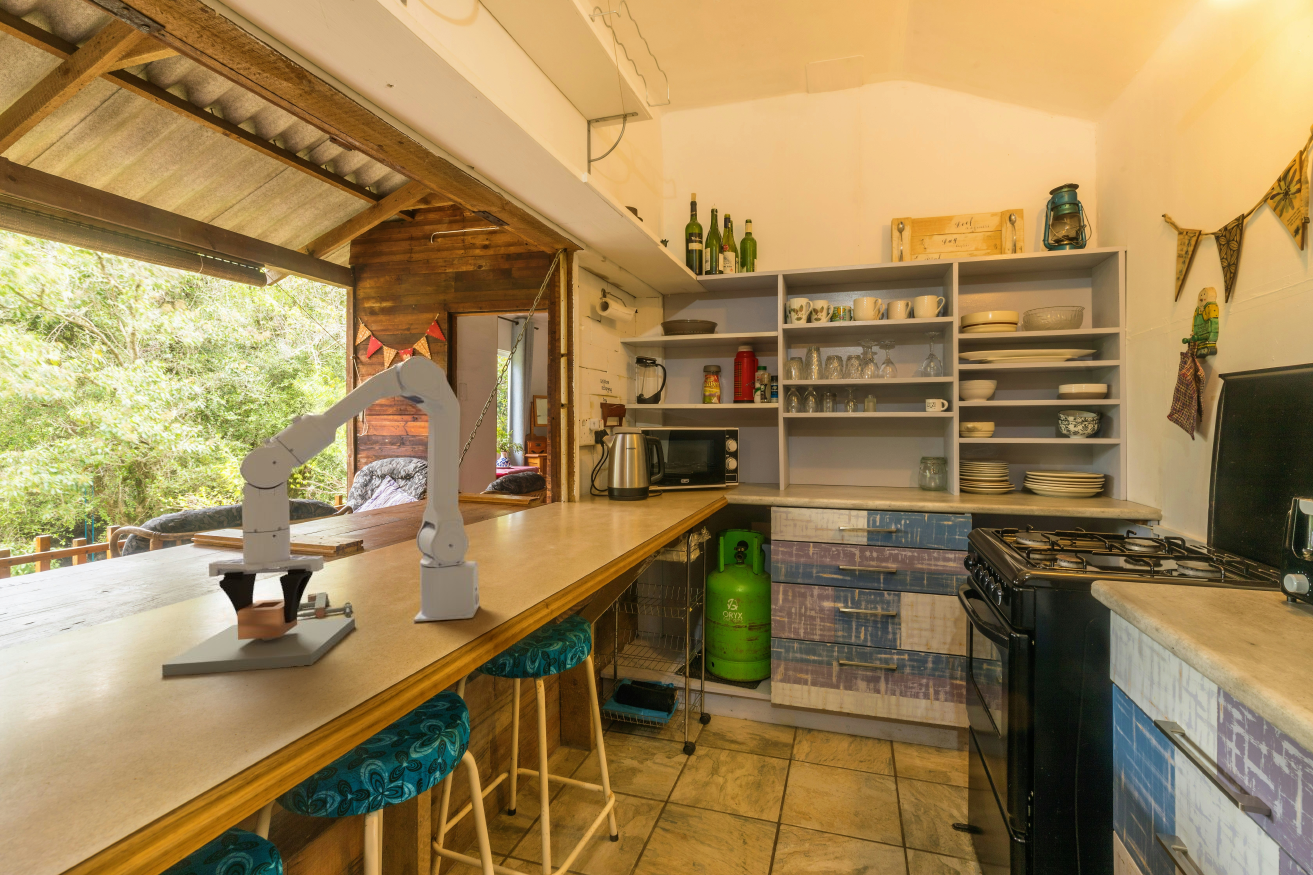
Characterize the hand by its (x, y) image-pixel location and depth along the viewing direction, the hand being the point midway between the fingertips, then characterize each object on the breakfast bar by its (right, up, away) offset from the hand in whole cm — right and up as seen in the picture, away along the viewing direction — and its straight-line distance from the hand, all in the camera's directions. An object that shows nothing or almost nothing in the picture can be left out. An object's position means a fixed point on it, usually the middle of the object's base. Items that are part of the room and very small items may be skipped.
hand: (268, 622), depth 84 cm
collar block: (0, -1, 0) cm, 1 cm away
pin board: (0, -4, 0) cm, 4 cm away
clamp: (-3, -5, +18) cm, 19 cm away
